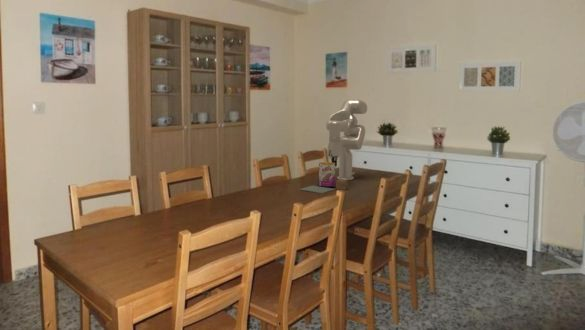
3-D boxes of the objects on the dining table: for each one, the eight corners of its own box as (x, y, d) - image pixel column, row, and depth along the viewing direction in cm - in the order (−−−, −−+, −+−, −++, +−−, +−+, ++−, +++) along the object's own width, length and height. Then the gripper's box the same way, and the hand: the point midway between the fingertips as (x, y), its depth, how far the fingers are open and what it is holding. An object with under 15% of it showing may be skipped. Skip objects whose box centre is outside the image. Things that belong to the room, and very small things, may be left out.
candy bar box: (318, 186, 297) (318, 162, 297) (318, 186, 302) (319, 162, 302) (335, 186, 296) (335, 162, 296) (335, 186, 301) (335, 162, 301)
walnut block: (338, 187, 297) (338, 179, 296) (347, 188, 295) (347, 179, 294) (335, 189, 292) (335, 180, 291) (344, 190, 289) (344, 181, 288)
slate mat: (312, 186, 302) (312, 185, 301) (334, 189, 291) (334, 188, 291) (299, 190, 290) (299, 189, 290) (322, 193, 279) (322, 192, 279)
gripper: (335, 138, 309) (335, 164, 312) (323, 140, 298) (323, 167, 300) (345, 139, 305) (344, 165, 307) (333, 141, 293) (332, 168, 296)
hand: (334, 166), depth 304 cm, fingers closed
